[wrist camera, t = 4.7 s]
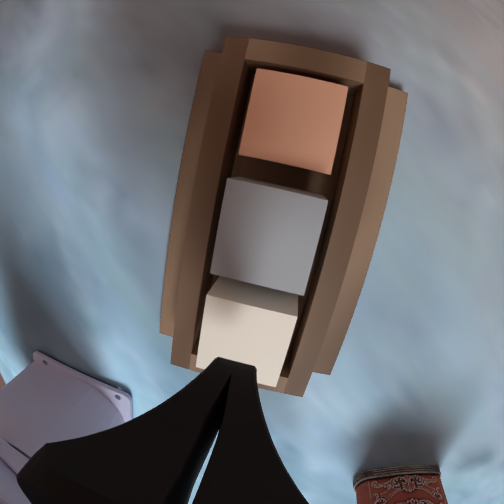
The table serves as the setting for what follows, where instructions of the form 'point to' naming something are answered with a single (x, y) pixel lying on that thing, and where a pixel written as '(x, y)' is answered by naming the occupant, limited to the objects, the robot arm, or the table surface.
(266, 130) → the key terracotta
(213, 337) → the key cream
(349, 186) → the keypad board
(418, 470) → the lighter
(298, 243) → the key slate
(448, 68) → the table surface
